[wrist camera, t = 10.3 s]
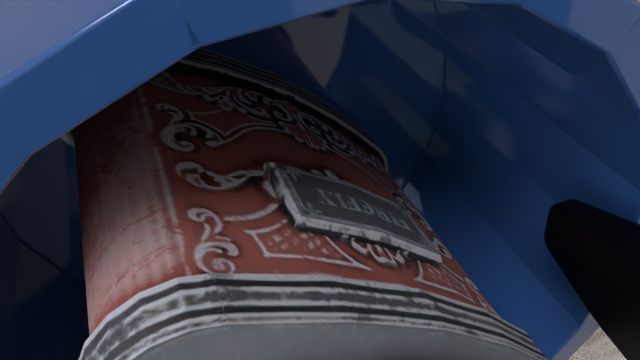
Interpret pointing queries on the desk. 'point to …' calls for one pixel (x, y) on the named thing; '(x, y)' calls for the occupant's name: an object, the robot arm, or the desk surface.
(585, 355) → the desk surface
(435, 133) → the blue round bin
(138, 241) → the lighter
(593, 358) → the desk surface
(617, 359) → the desk surface
